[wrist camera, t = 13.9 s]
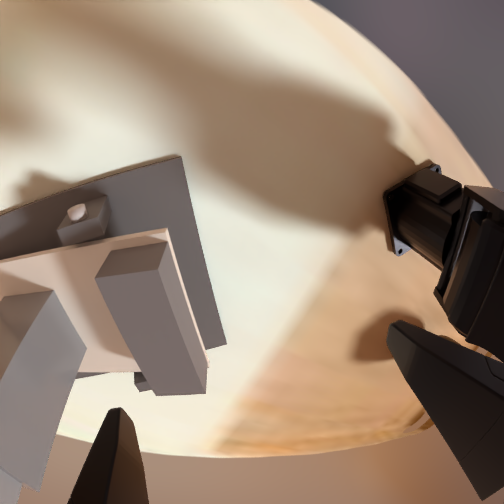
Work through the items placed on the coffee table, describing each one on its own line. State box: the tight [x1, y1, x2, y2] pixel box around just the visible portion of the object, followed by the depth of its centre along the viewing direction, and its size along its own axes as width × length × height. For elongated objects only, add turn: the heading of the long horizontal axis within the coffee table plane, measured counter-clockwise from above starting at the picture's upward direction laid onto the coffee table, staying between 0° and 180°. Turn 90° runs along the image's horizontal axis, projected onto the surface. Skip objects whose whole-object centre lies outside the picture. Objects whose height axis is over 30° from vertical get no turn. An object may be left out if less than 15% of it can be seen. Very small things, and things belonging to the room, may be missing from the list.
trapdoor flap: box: [0, 228, 210, 396], centre depth 17 cm, size 14×10×3 cm
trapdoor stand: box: [0, 157, 227, 392], centre depth 19 cm, size 17×15×4 cm
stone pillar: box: [0, 290, 87, 504], centre depth 12 cm, size 5×5×13 cm
